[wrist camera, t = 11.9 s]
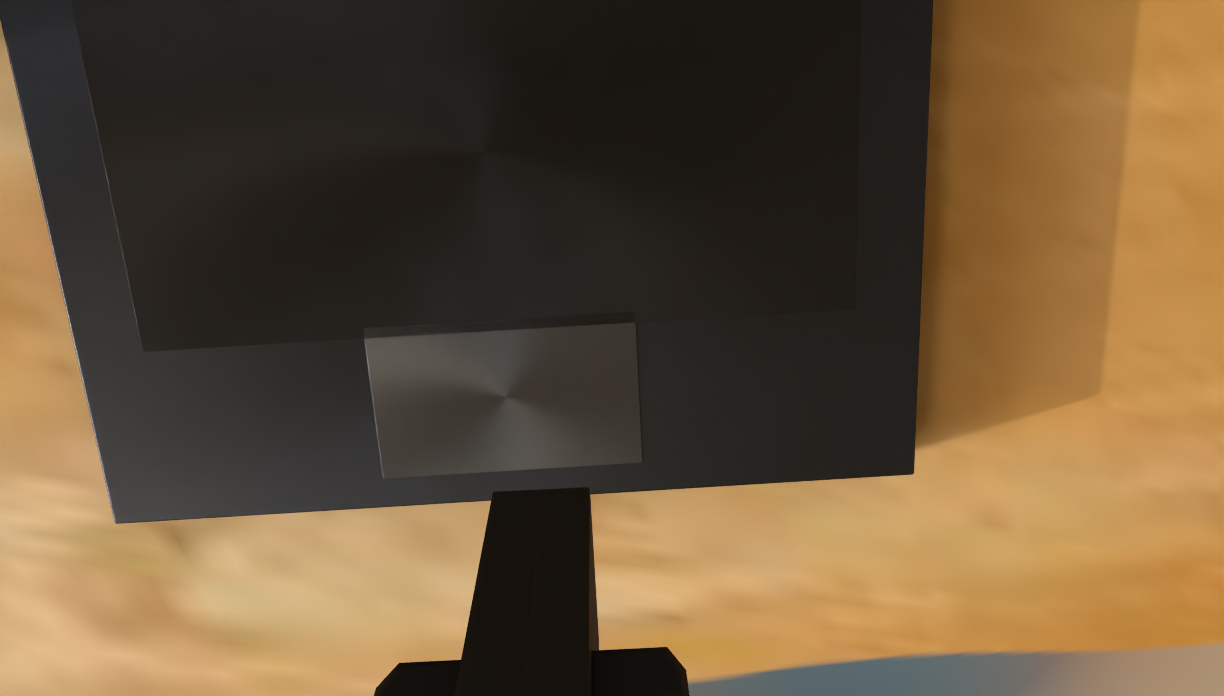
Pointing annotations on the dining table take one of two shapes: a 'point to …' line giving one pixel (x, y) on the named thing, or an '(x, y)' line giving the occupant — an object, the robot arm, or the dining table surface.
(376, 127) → the laptop
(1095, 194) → the dining table surface
